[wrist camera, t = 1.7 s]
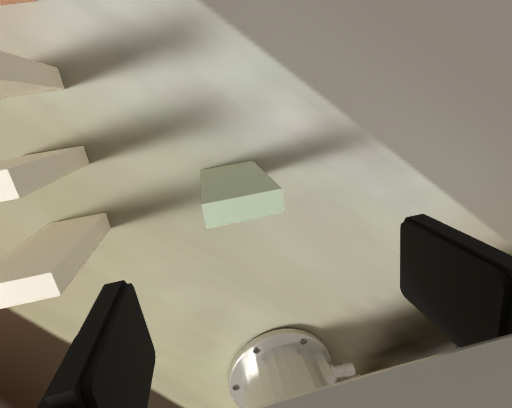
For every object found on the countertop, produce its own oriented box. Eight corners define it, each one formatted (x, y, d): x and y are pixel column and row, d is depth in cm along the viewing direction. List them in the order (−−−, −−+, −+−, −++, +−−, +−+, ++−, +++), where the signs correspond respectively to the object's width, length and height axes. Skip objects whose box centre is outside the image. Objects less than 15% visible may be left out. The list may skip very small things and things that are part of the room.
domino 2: (110, 228, 29) (60, 295, 18) (54, 239, 28) (-30, 315, 18) (105, 212, 28) (50, 272, 18) (48, 223, 28) (-43, 292, 17)
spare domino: (255, 176, 30) (284, 212, 19) (204, 186, 29) (206, 228, 19) (252, 160, 29) (281, 188, 19) (200, 170, 28) (201, 204, 18)
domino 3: (89, 163, 27) (19, 198, 16) (28, 174, 26) (-84, 216, 16) (83, 145, 26) (7, 168, 16) (21, 155, 26) (-100, 187, 15)
